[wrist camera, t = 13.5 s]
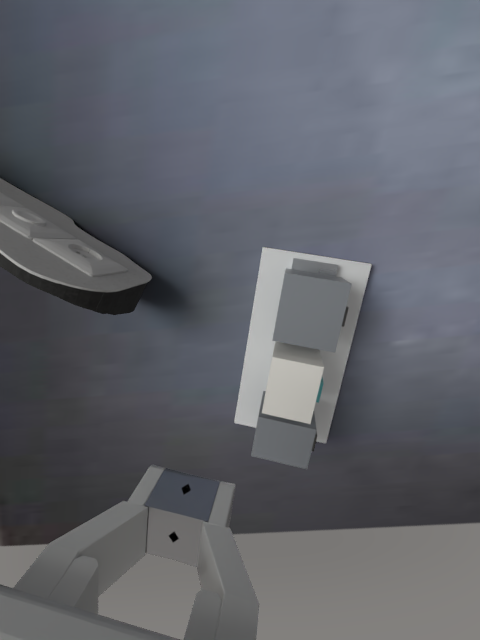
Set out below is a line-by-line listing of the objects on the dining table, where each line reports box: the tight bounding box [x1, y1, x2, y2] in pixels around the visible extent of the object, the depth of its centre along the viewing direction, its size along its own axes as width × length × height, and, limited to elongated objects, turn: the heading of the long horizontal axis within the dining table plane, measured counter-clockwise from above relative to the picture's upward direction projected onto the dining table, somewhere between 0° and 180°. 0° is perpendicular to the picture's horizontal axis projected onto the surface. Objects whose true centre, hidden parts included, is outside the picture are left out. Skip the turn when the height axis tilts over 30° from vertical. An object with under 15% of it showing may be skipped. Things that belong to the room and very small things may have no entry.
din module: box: [262, 341, 324, 424], centre depth 28 cm, size 5×4×6 cm
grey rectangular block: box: [291, 258, 338, 276], centre depth 31 cm, size 18×4×1 cm, turn 171°
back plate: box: [234, 247, 372, 443], centre depth 32 cm, size 19×10×1 cm, turn 171°
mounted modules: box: [251, 268, 352, 469], centre depth 28 cm, size 16×5×5 cm, turn 171°
